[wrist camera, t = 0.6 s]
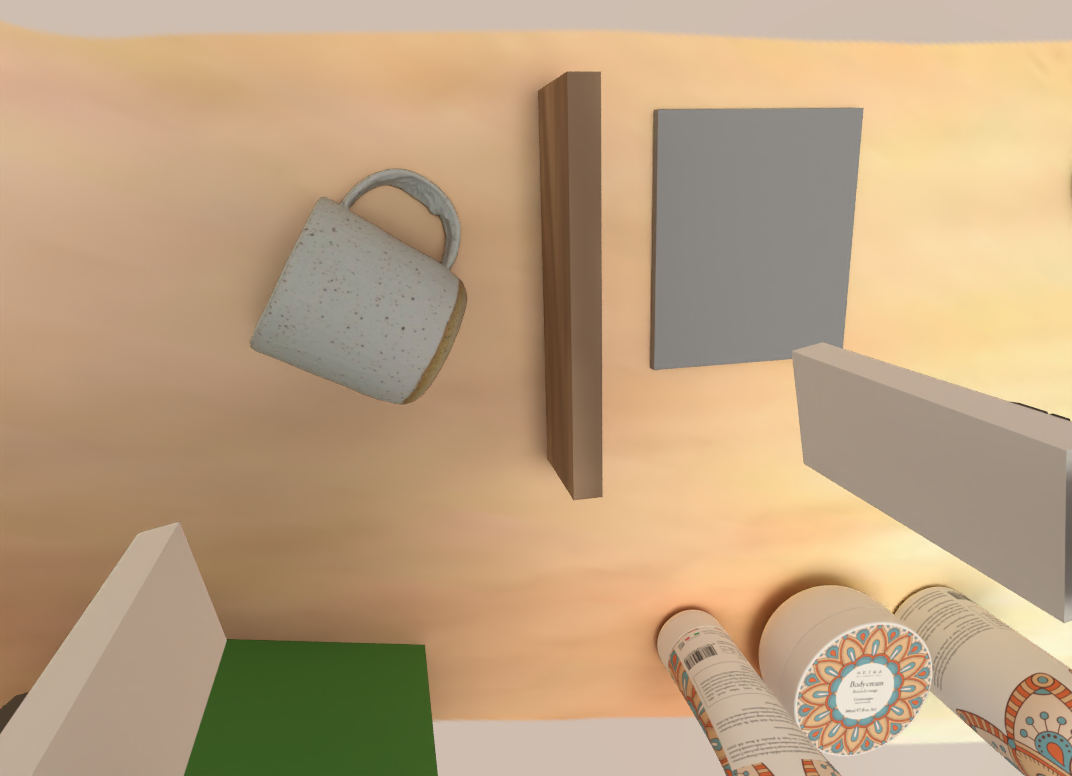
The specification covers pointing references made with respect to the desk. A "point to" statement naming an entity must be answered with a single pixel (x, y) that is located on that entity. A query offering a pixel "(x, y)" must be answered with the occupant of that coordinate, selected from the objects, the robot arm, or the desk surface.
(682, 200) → the mat
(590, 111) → the walnut screen
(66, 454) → the desk surface
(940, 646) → the cosmetic set
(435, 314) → the ceramic mug
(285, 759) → the hardback book
